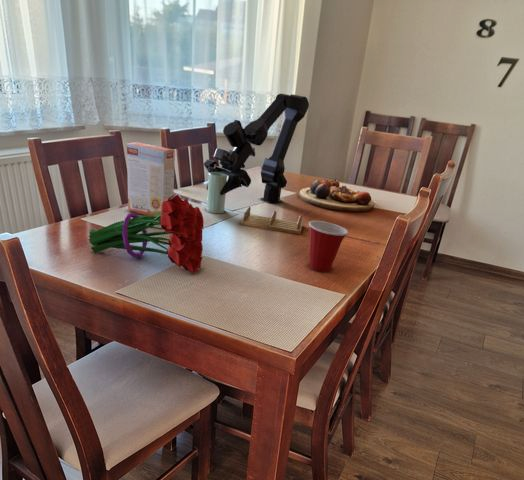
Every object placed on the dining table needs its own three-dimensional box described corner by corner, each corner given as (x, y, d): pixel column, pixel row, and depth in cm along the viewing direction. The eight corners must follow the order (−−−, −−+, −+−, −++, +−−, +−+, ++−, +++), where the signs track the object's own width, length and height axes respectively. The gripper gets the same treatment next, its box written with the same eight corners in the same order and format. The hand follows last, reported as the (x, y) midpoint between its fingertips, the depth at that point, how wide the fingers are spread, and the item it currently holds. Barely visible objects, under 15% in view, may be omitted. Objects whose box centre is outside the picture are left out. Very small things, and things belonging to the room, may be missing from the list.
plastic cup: (346, 275, 131) (355, 233, 125) (309, 275, 128) (318, 231, 122) (330, 260, 140) (338, 220, 134) (296, 260, 136) (303, 218, 130)
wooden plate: (389, 211, 201) (394, 191, 197) (333, 215, 184) (337, 193, 180) (338, 190, 223) (342, 172, 219) (284, 193, 206) (287, 173, 201)
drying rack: (246, 216, 168) (247, 205, 166) (302, 226, 167) (304, 214, 164) (241, 224, 159) (242, 212, 157) (300, 234, 158) (302, 222, 156)
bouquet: (111, 262, 135) (213, 260, 128) (80, 283, 120) (193, 282, 114) (93, 190, 125) (201, 183, 119) (57, 204, 111) (178, 197, 105)
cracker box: (174, 217, 157) (175, 149, 146) (163, 220, 152) (164, 151, 142) (138, 207, 161) (138, 141, 151) (127, 210, 156) (126, 142, 146)
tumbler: (216, 207, 173) (218, 171, 167) (227, 212, 170) (230, 175, 163) (202, 209, 169) (205, 172, 163) (214, 214, 166) (217, 176, 159)
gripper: (209, 134, 165) (183, 169, 163) (249, 145, 156) (222, 183, 154) (223, 157, 174) (199, 191, 172) (261, 168, 165) (237, 204, 163)
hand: (213, 192), depth 165 cm, fingers closed on tumbler, 6 cm apart
